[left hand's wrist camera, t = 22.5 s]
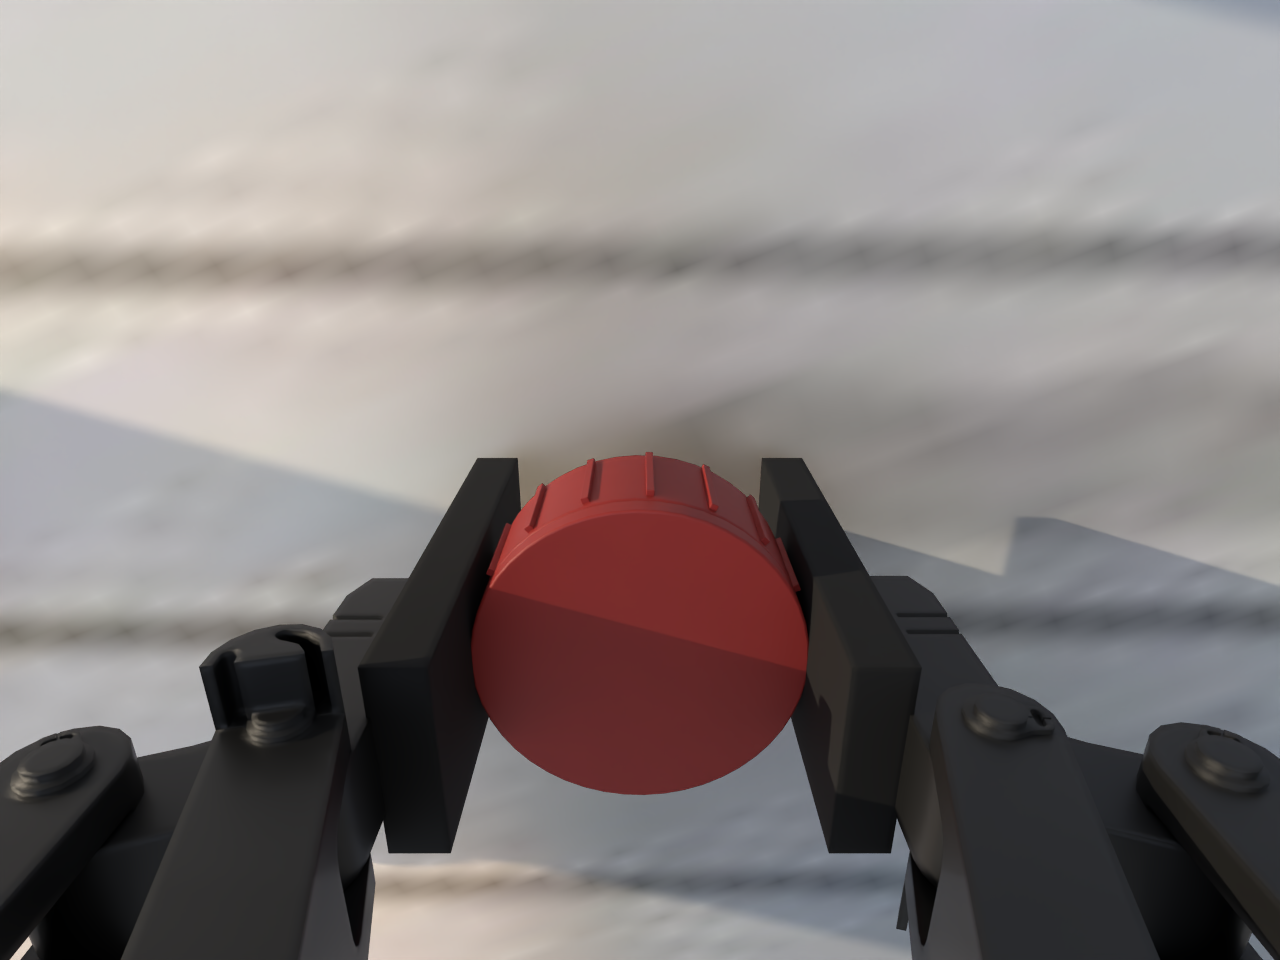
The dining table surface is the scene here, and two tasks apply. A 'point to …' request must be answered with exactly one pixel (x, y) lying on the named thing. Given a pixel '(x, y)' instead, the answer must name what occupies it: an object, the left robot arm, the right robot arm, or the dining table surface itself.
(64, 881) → the left robot arm
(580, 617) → the lid
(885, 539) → the dining table surface
